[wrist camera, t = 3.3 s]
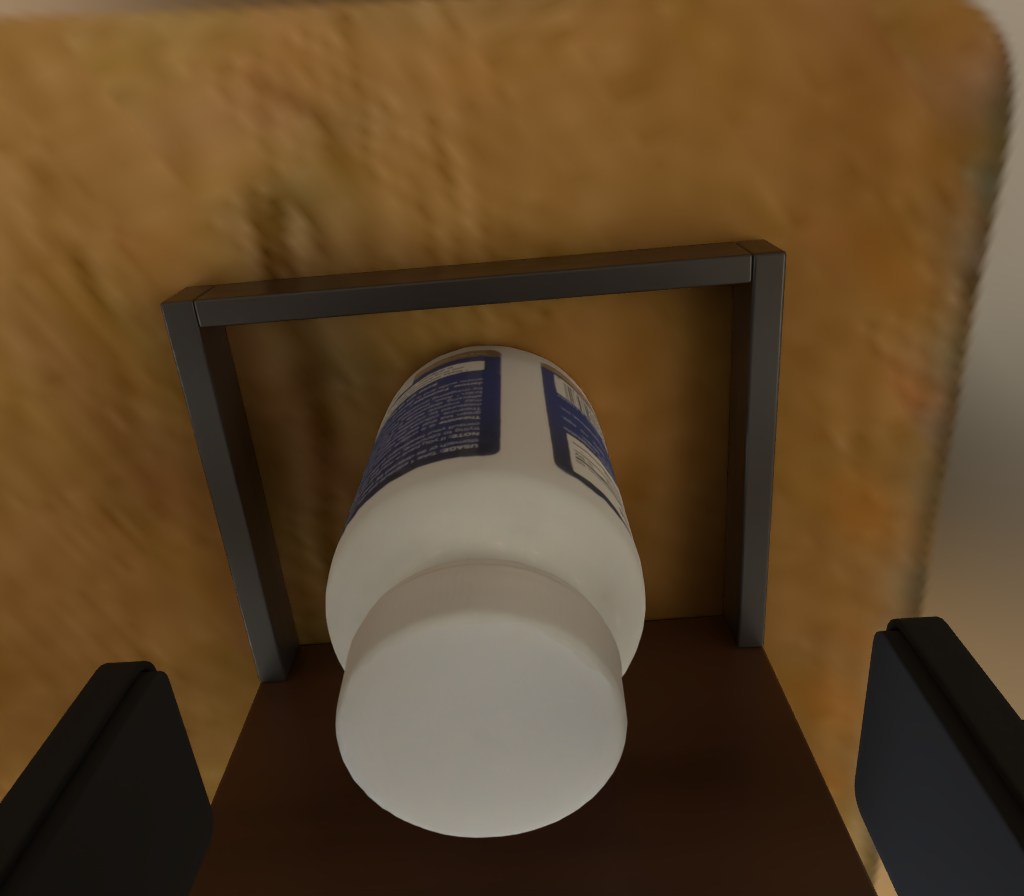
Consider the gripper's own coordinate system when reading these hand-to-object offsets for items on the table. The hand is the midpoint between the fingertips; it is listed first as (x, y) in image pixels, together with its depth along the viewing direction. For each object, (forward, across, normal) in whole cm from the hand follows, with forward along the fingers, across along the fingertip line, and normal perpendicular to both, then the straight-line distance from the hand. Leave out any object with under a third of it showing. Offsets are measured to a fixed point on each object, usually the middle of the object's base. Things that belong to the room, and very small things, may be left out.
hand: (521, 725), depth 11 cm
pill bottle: (+10, +1, 0) cm, 10 cm away
